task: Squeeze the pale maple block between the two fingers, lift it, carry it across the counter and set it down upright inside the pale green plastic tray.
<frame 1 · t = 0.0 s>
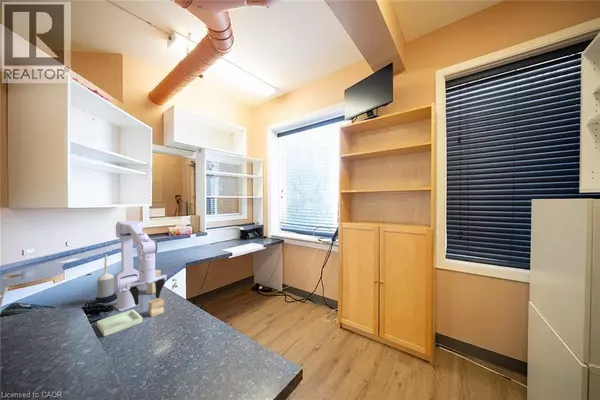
hand: (147, 300, 92), 10 cm above the countertop, tool pointing down, fingers open, 7 cm apart
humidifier: (105, 301, 116), on the countertop
skincare box: (153, 292, 127), on the countertop
block: (156, 313, 102), on the countertop
tray: (120, 324, 93), on the countertop
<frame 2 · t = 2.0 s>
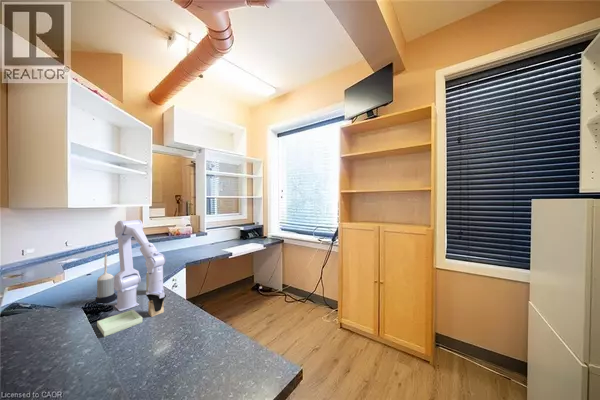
hand: (156, 309, 102), 2 cm above the countertop, tool pointing down, fingers closed on block, 4 cm apart
block: (156, 313, 102), on the countertop, touching gripper
everything else where it was.
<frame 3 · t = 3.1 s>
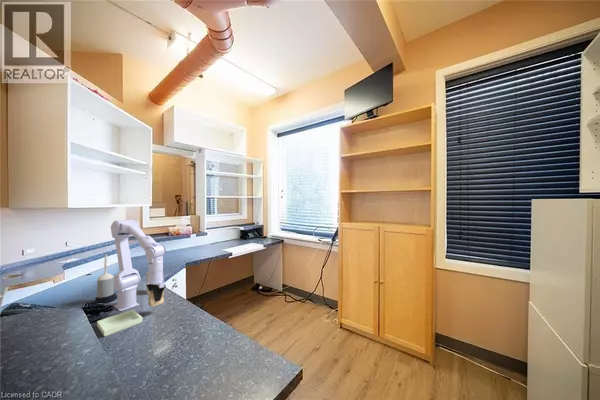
hand: (156, 299, 102), 6 cm above the countertop, tool pointing down, fingers closed on block, 4 cm apart
block: (156, 303, 102), point 5 cm above the countertop, touching gripper
everything else where it was.
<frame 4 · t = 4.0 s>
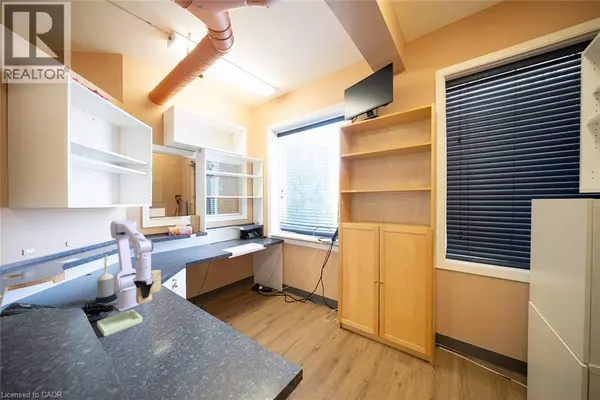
hand: (143, 296, 99), 9 cm above the countertop, tool pointing down, fingers closed on block, 4 cm apart
block: (144, 300, 99), point 7 cm above the countertop, touching gripper
everything else where it was.
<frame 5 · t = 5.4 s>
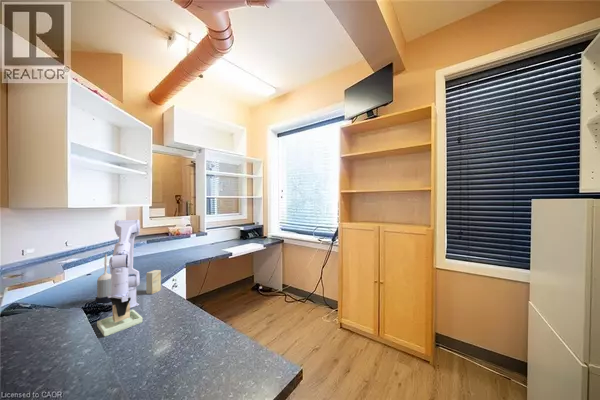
hand: (120, 314, 93), 4 cm above the countertop, tool pointing down, fingers closed on block, 4 cm apart
block: (121, 318, 93), point 2 cm above the countertop, touching gripper
everything else where it was.
when the fingers open (4 cm above the countertop, at t = 6.3 s): block drops 1 cm, resting on tray.
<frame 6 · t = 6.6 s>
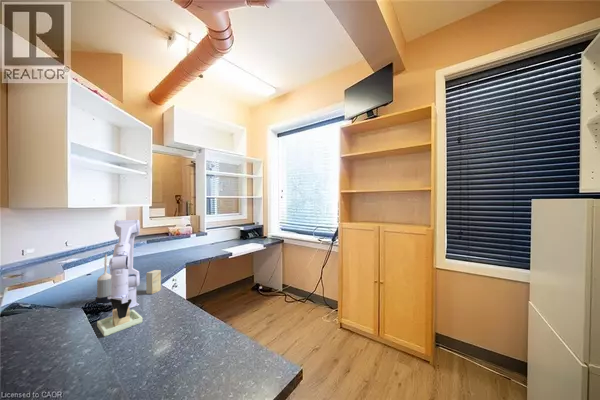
hand: (120, 315, 93), 4 cm above the countertop, tool pointing down, fingers open, 6 cm apart
block: (121, 322, 93), resting on tray
everything else where it was.
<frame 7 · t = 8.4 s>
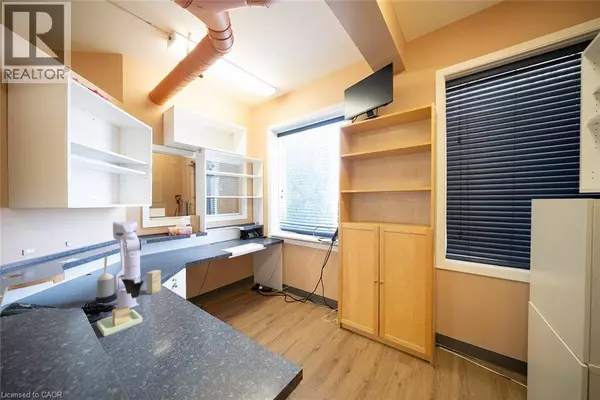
hand: (132, 295, 98), 10 cm above the countertop, tool pointing down, fingers open, 7 cm apart
nothing on the countertop moved.
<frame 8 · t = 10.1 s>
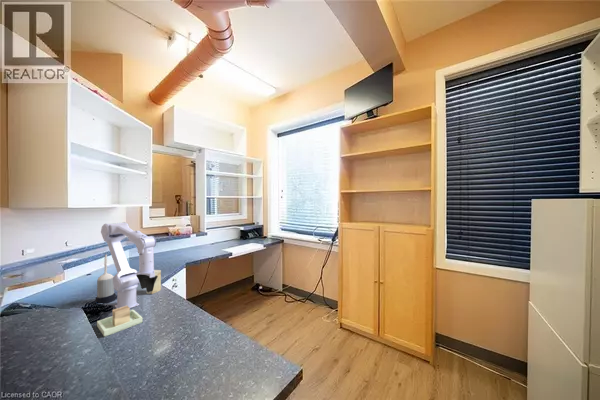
hand: (147, 289, 104), 10 cm above the countertop, tool pointing down, fingers open, 7 cm apart
nothing on the countertop moved.
at the end: block inside the target area on the tray (0.4 cm from its centre), point 0.5 cm above the tray's base; block tilted 0°; the gripper is holding nothing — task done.
